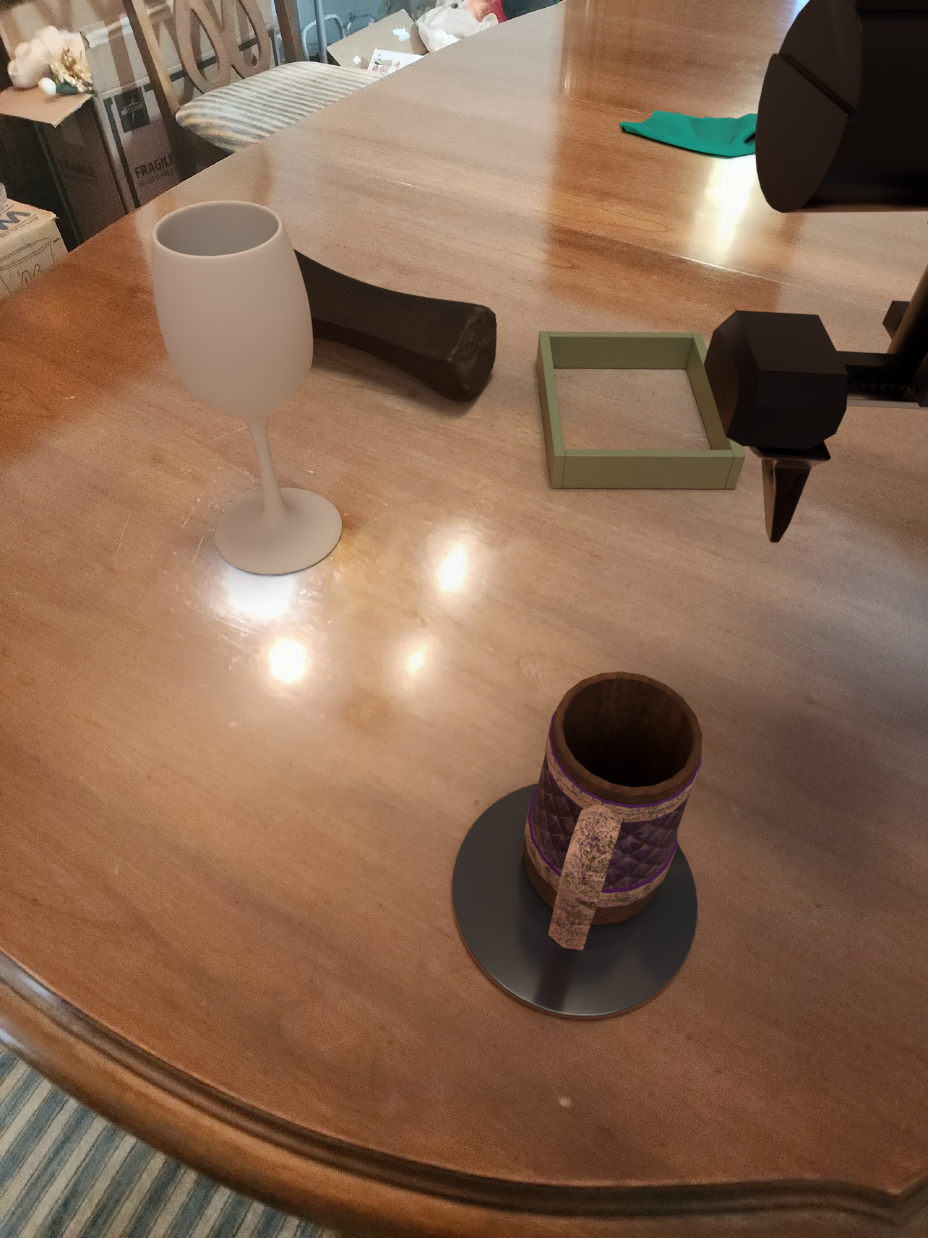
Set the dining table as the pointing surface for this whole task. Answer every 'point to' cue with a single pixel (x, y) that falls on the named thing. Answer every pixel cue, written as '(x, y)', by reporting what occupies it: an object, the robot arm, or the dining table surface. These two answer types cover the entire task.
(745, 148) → the cloth
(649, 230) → the dining table surface
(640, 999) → the coaster
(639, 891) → the mug
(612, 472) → the frame
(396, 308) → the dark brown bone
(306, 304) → the wineglass
